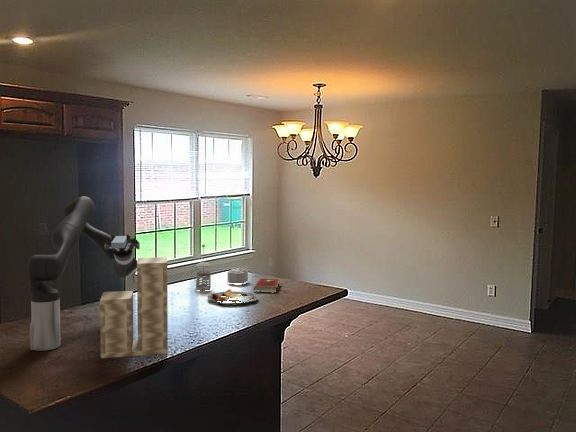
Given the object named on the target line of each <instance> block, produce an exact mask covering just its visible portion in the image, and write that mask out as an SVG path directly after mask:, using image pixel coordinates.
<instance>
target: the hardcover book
mask: <svg viewBox="0 0 576 432" xmlns="http://www.w3.org/2000/svg"><path fill="white" fill-rule="evenodd" d="M280 281H281V279H280V278H263V277H262V278H261V277H260V278H259V280H258V281H257V282H256V284H255V285H254V287H253V291H254V290H276V288H277V286H278V284H279V285H280Z"/></svg>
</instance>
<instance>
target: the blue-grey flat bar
mask: <svg viewBox="0 0 576 432" xmlns="http://www.w3.org/2000/svg"><path fill="white" fill-rule="evenodd" d="M126 243H127V238H126V235H115V238H114V239H113V241H112V242H111V248H125V245H126Z"/></svg>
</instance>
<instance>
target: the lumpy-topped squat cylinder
mask: <svg viewBox="0 0 576 432" xmlns="http://www.w3.org/2000/svg"><path fill="white" fill-rule="evenodd" d="M246 281H248V282H249V270H247V269H246V268H245V267H242V268H241V267H237V268H234V267H232V268H231V269H230V270H228V271H227V283H228V282H229V283H244V282H246Z"/></svg>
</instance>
